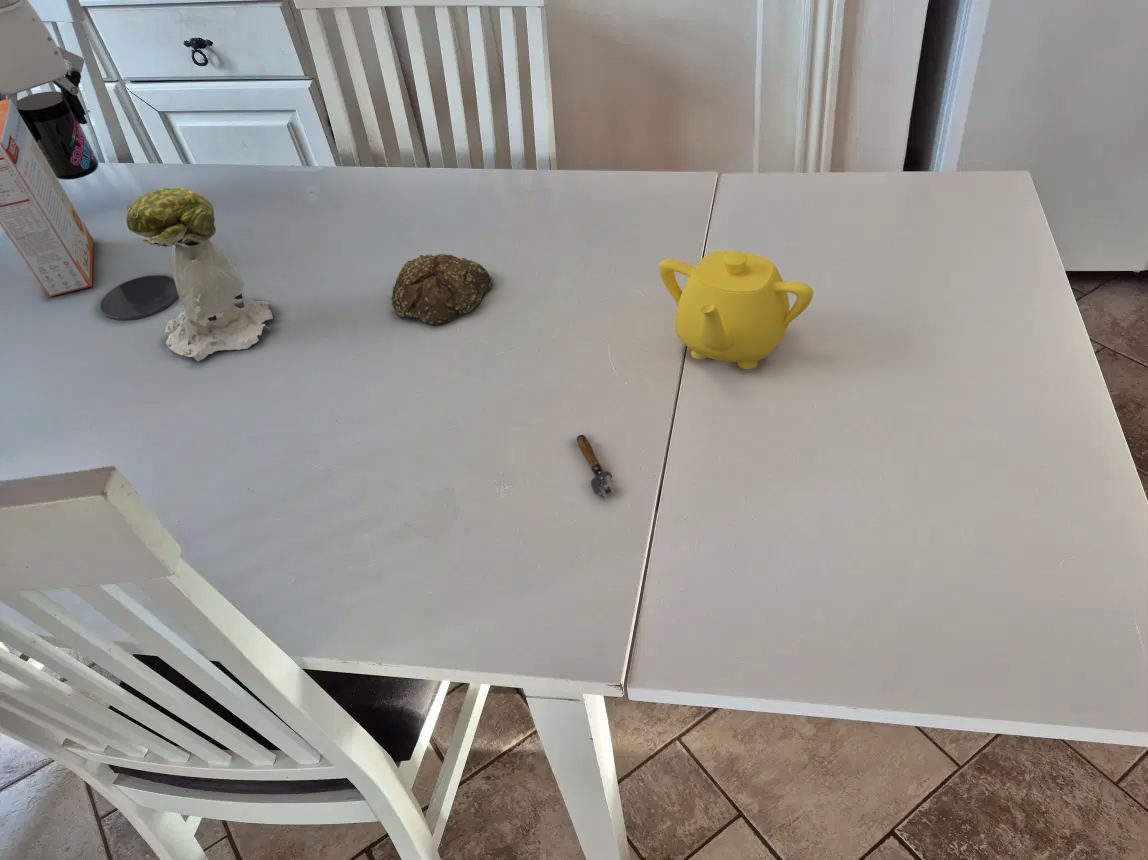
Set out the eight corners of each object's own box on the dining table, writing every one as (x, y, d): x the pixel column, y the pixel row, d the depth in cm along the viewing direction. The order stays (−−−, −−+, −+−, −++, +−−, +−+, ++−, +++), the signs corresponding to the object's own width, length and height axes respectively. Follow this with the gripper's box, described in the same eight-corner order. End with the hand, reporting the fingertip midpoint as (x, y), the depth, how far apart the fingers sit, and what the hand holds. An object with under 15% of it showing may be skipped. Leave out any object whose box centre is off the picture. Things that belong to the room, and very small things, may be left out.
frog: (166, 318, 109) (93, 185, 96) (267, 291, 112) (210, 159, 99) (171, 369, 102) (93, 232, 88) (279, 338, 105) (219, 202, 92)
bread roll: (414, 267, 115) (405, 234, 112) (499, 274, 113) (493, 241, 110) (375, 321, 107) (365, 288, 103) (467, 330, 105) (459, 296, 101)
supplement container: (74, 184, 124) (36, 112, 116) (41, 177, 125) (2, 106, 118) (110, 165, 128) (76, 94, 120) (78, 158, 130) (43, 88, 122)
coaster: (129, 328, 108) (128, 326, 108) (86, 305, 112) (85, 303, 112) (196, 290, 113) (194, 288, 113) (152, 270, 118) (151, 267, 117)
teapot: (649, 332, 103) (645, 245, 94) (750, 300, 107) (755, 214, 98) (702, 397, 94) (703, 308, 86) (810, 360, 98) (822, 271, 89)
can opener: (576, 442, 90) (575, 434, 89) (597, 438, 90) (596, 430, 89) (596, 502, 84) (595, 495, 83) (618, 497, 84) (618, 489, 83)
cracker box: (51, 250, 123) (-39, 105, 107) (95, 240, 124) (13, 96, 109) (45, 299, 113) (-54, 149, 98) (93, 288, 115) (3, 138, 100)
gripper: (34, -26, 116) (96, 105, 129) (-99, 9, 106) (-18, 147, 119) (64, -18, 113) (125, 116, 126) (-70, 18, 103) (10, 159, 116)
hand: (55, 130), depth 122 cm, fingers closed on supplement container, 6 cm apart
